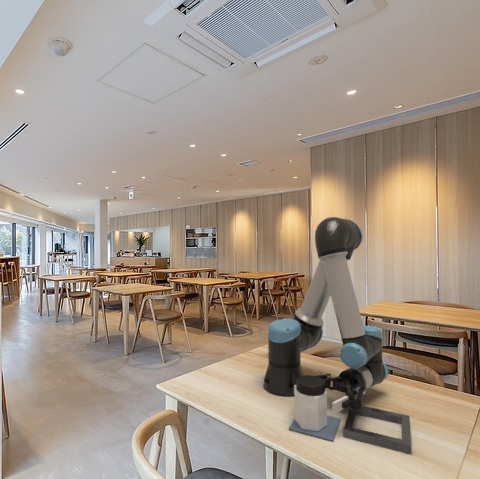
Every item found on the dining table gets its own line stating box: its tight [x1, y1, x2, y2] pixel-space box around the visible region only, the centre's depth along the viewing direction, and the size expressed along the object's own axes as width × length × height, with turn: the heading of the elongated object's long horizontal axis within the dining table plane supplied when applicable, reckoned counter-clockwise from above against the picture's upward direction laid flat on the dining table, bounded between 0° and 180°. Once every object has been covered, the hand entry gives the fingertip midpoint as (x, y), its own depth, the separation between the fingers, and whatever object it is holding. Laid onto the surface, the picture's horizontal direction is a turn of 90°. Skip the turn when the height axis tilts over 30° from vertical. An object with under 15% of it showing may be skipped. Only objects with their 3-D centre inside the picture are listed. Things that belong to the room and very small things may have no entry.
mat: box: [288, 414, 342, 443], centre depth 90 cm, size 12×12×1 cm
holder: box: [342, 405, 412, 455], centre depth 88 cm, size 16×16×2 cm
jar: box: [294, 374, 328, 432], centre depth 91 cm, size 9×8×12 cm
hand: (312, 398), depth 90 cm, fingers open, 13 cm apart
